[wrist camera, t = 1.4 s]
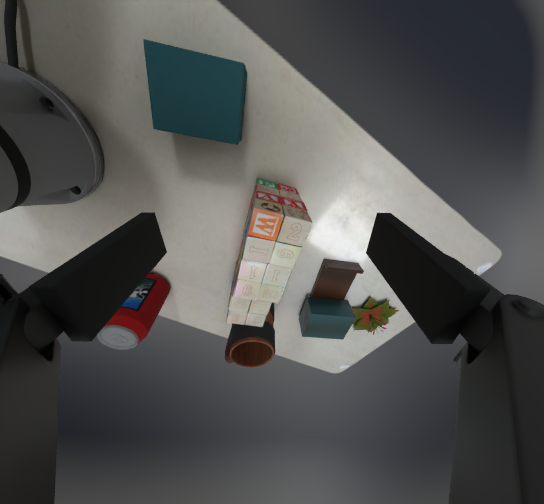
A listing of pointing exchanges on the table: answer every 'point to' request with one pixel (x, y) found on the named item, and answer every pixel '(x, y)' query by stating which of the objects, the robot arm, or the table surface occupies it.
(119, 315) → the beverage can
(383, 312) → the lily flower
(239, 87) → the block
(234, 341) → the mug
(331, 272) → the teal lidded box
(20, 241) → the table surface
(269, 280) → the stack of blocks
